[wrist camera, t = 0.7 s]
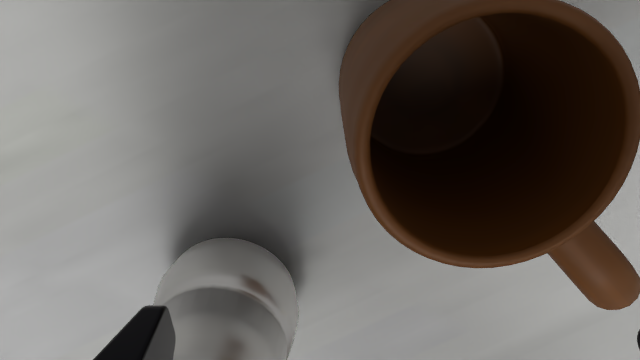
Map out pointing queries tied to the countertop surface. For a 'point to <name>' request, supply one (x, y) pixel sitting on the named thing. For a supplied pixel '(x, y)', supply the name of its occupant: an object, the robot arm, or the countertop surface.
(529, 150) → the mug
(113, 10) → the countertop surface
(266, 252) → the plastic bottle
